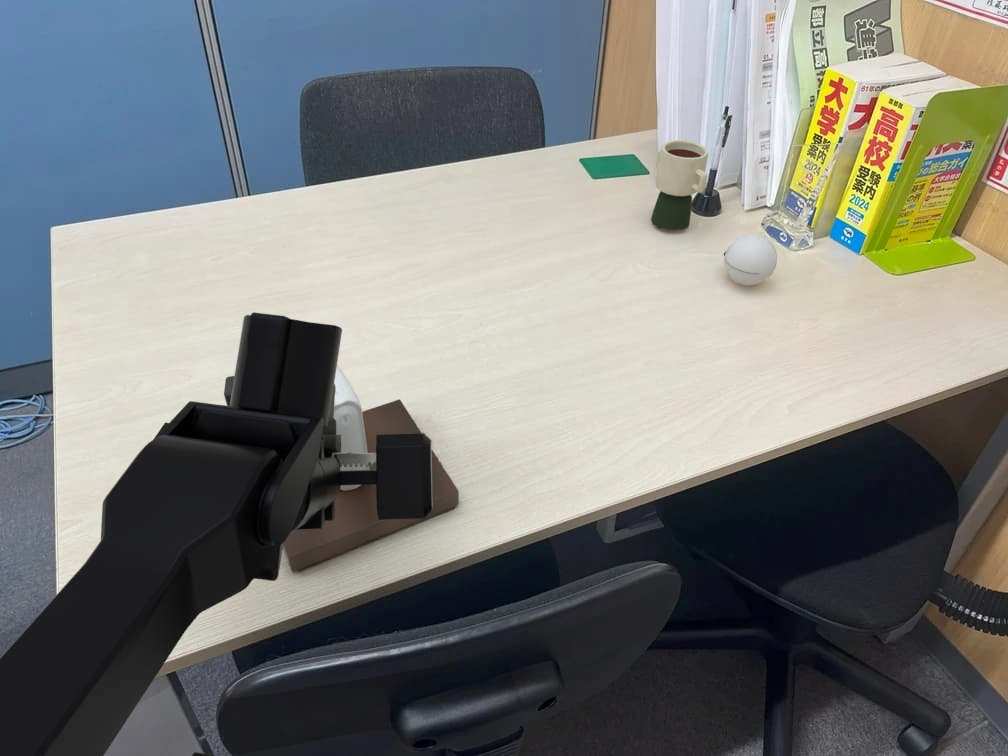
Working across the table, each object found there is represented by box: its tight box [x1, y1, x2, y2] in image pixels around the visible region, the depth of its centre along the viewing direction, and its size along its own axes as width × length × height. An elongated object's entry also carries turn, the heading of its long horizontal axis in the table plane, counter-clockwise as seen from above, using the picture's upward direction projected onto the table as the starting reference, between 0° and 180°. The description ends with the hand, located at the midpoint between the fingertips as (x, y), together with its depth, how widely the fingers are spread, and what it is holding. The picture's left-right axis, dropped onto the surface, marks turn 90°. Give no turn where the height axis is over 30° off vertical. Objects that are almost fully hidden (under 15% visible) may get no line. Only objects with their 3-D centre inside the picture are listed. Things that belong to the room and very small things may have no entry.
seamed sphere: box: [719, 233, 778, 287], centre depth 102 cm, size 10×7×7 cm
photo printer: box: [334, 364, 370, 491], centre depth 69 cm, size 10×4×12 cm, turn 33°
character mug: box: [650, 139, 709, 231], centre depth 113 cm, size 11×7×13 cm, turn 31°
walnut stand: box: [282, 399, 460, 573], centre depth 73 cm, size 17×15×2 cm
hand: (324, 471), depth 60 cm, fingers open, 9 cm apart
